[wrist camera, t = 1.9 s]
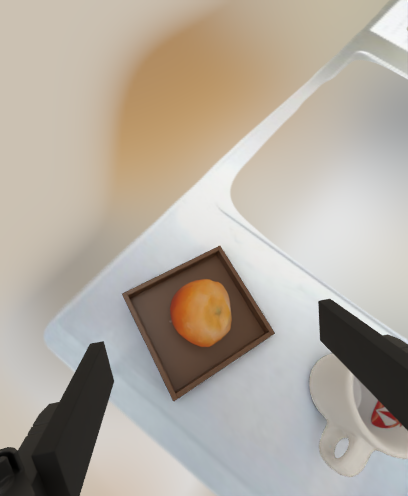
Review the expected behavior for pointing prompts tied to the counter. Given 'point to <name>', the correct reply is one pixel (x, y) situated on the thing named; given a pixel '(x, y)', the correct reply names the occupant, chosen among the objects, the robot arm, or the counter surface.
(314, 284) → the counter surface
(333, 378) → the cup
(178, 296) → the fruit
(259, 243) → the counter surface
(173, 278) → the tray
